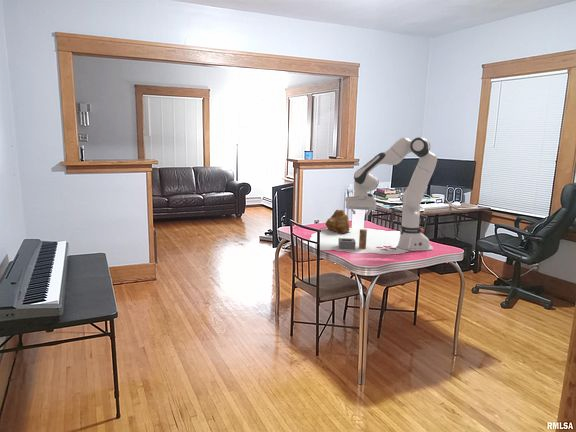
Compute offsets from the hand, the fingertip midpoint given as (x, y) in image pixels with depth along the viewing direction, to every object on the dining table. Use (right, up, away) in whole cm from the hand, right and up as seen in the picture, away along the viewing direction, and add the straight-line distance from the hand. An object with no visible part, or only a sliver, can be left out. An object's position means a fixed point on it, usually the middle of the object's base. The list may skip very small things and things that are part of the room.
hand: (361, 214), depth 283 cm
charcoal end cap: (-11, -22, -8) cm, 25 cm away
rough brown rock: (-11, -13, +47) cm, 50 cm away
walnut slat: (-1, -22, -9) cm, 23 cm away
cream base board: (-6, -23, -8) cm, 25 cm away
